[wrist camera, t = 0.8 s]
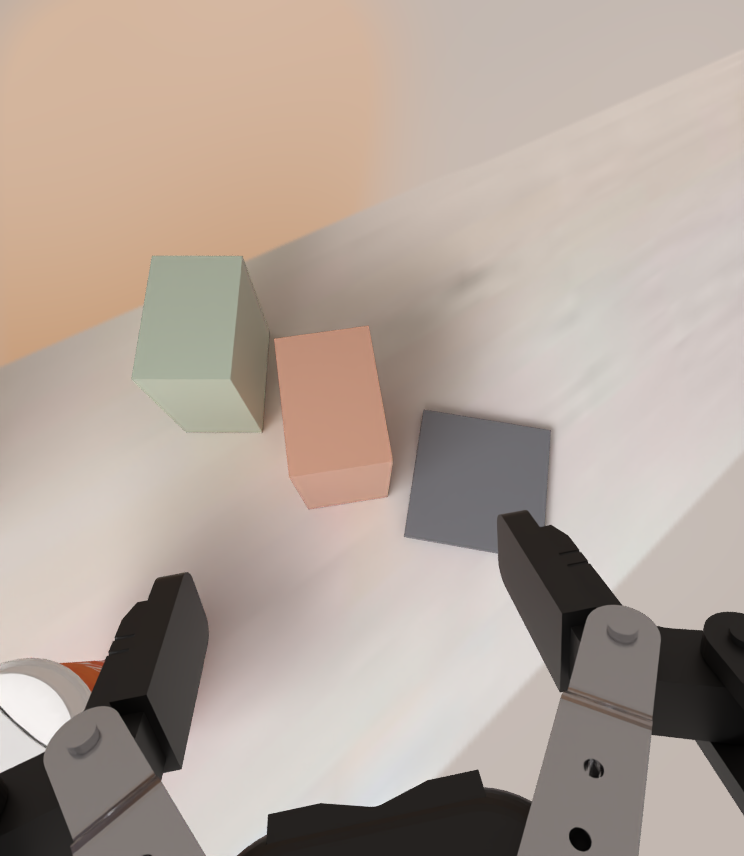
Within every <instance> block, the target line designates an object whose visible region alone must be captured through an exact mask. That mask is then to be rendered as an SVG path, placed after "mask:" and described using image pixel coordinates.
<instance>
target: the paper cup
mask: <svg viewBox="0 0 744 856" xmlns="http://www.w3.org/2000/svg"><path fill="white" fill-rule="evenodd" d="M104 662H105V660H104V661H87V662H72V663H57V662H54V661H50V660H47V659H39V658H25V659H17V660H13V661H8V662H5V663H2V664H0V773H1V772H3V771H6V770H8V769H10V768H12V767H14V766H16V765H18V764H20V763H22V762H24V761H27V760H29V759H31V758H33V757H35V756H37V755H39V754H41V753H43V752H45V750H46V747H47V745H48V743H49V741H50V740H51V738H52V737H53V736H54V734H55V733H56V732H57V731H58V730H59V728H60V727H61V726H63V725H64V724H65V723H66V722H67V721H68V720H70V719H71V718H72V717H74V716H76V715H77V714H79V713H81V712H83V711H84V709H85V707H86V704H87V702H88V700H89V697H90V695H91V693H92V690H93V688H94V685H95V683H96V681H97V678H98V676H99V674H100V671H101V669H102V666H103V664H104Z"/></svg>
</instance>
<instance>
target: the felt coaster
mask: <svg viewBox="0 0 744 856" xmlns="http://www.w3.org/2000/svg"><path fill="white" fill-rule="evenodd" d="M550 433H551V430H545V429H539V428H533V427H527V426H521V425H515V424H509V423H503V422H496V421H490V420H484V419H478V418H472V417H466V416H460V415H454V414H448V413H442V412H435V411H429V410H424V411H423V416H422V422H421V429H420V435H419V442H418V449H417V455H416V462H415V468H414V475H413V481H412V488H411V494H410V501H409V507H408V514H407V521H406V527H405V534H404V537H408V538H414V539H419V540H425V541H431V542H436V543H442V544H448V545H453V546H459V547H464V548H470V549H476V550H481V551H487V552H493V553H498V537H497V517H498V515H500V514H506V513H511V512H516V511H522V510H527V511H529V513H530V514H531V515H532V517H533V518H534V519H535V521H536V522H537V524H538V525H539V527H543V526H545V511H546V495H547V480H548V464H549V449H550Z"/></svg>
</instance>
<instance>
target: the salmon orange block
mask: <svg viewBox="0 0 744 856" xmlns="http://www.w3.org/2000/svg"><path fill="white" fill-rule="evenodd" d="M274 343H275V352H276V361H277V370H278V380H279V389H280V398H281V407H282V416H283V425H284V434H285V443H286V453H287V462H288V471H289V478H290V479H291V481H292V483H293V484H294V486H295V488H296V489H297V491H298V493H299V494H300V496H301V498H302V499H303V501H304V503H305V504H306V506H307V508H308V509H314V508H320V507H327V506H333V505H340V504H346V503H352V502H359V501H365V500H371V499H378V498H384V497H387V496H388V490H389V483H390V477H391V471H392V464H393V458H392V453H391V447H390V442H389V436H388V430H387V425H386V419H385V414H384V408H383V403H382V397H381V391H380V386H379V380H378V375H377V369H376V364H375V358H374V352H373V347H372V341H371V336H370V330H369V326H362V327H355V328H348V329H340V330H333V331H326V332H319V333H311V334H304V335H297V336H290V337H282V338H275V339H274Z"/></svg>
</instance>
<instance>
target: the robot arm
mask: <svg viewBox="0 0 744 856" xmlns="http://www.w3.org/2000/svg"><path fill="white" fill-rule="evenodd" d="M497 537H498V561H499V569H500V573H501V577H502V580H503V582H504V585H505V587H506V589H507V591H508V593H509V595H510V597H511V599H512V600H513V602H514V604H515V606H516V608H517V610H518V612H519V614H520V616H521V618H522V620H523V622H524V624H525V626H526V628H527V630H528V631H529V633H530V635H531V637H532V639H533V641H534V643H535V645H536V647H537V649H538V651H539V653H540V655H541V657H542V659H543V661H544V663H545V664H546V666H547V668H548V670H549V672H550V674H551V676H552V678H553V680H554V682H555V684H556V686H557V688H558V690H559V691H560V692H563V693H562V695H561V698H560V702H559V706H558V709H557V713H556V716H555V720H554V724H553V727H552V731H551V734H550V738H549V742H548V746H547V749H546V753H545V757H544V760H543V764H542V767H541V771H540V775H539V778H538V782H537V785H536V789H535V793H534V797H533V800H532V801H530V800H528V799H526V798H523V797H521V796H519V795H516V794H514V793H511V792H508V791H504V790H499V789H494V788H486V787H485V788H484V787H483V784H482V781H481V777H480V774H479V771H478V770H474V771H469V772H465V773H460V774H455V775H450V776H446V777H441V778H436V779H432V780H427V781H425V782H424V783H422V784H420V785H418V786H416V787H414V788H412V789H410V790H408V791H406V792H404V793H403V794H401V795H399V796H397V797H395V798H393V799H391V800H389V801H387V802H385V803H384V804H382V805H379V806H376V807H364V806H350V805H337V804H323V803H320V804H315V805H310V806H306V807H301V808H296V809H292V810H287V811H282V812H278V813H273V814H268V825H267V835H265V836H264V837H262V838H260V839H258V840H257V841H255V842H254V843H252V844H251V845H250V846H248V847H247V848H246V849H244V850H243V851H242V852H241V853H240V854H238V855H237V856H638V854H639V845H640V835H641V826H642V817H643V807H644V797H645V788H646V780H647V770H648V761H649V752H650V742H651V735H658V736H666V737H675V738H683V739H692V740H695V741H696V742H697V744H698V745H699V747H700V748H701V750H702V752H703V753H704V755H705V756H706V758H707V759H708V761H709V762H710V764H711V765H712V767H713V769H714V770H715V771H716V773H717V775H718V776H719V778H720V779H721V781H722V782H723V784H724V785H725V787H726V789H727V790H728V792H729V793H730V795H731V796H732V798H733V799H734V801H735V802H736V804H737V806H738V807H739V809H740V810H741V812H742V813H743V815H744V614H743V613H737V612H721V613H717V614H714V615H712V616H710V617H709V618H708V619H707V620H706V622H705V625H704V628H703V631H701V630H686V629H672V628H663V627H659V626H656V625H655V624H654V622H653V621H652V620H651V619H650V618H649V617H647V616H646V615H645V614H643V613H641V612H639V611H637V610H635V609H633V608H629V607H626V606H622V604H621V603H620V602H619V601H618V599H617V598H616V597H615V595H614V594H613V593H612V591H611V590H610V589H609V588H608V586H607V585H606V584H605V582H604V581H603V580H602V579H601V577H600V576H599V575H598V573H597V572H596V571H595V569H594V568H593V567H592V566H591V564H588V560H587V559H586V558H585V557H584V555H583V554H582V553H581V552H579V549H578V548H577V546H576V545H575V544H574V542H573V541H572V540H571V539H570V537H569V536H568V535H566V534H565V533H563V532H562V531H560V530H558V529H557V528H555V527H554V526H552V525H549V526H543V527H539V525H538V524H537V522H536V521H535V519H534V518H533V517H532V515H531V514H530V513H529V511H527V510H522V511H516V512H511V513H506V514H500V515H498V517H497ZM208 636H209V631H208V622H207V618H206V614H205V612H204V609H203V606H202V603H201V601H200V598H199V595H198V592H197V590H196V587H195V584H194V581H193V579H192V576H191V575H190V573H188V572H185V573H180V574H175V575H169V576H164V577H159V578H157V579H156V580H155V582H154V584H153V587H152V590H151V592H150V595H149V598H148V600H147V601H142V602H137V603H136V604H135V606H134V607H133V608H132V609H131V610H130V611H129V612H128V614H127V615H126V616H125V617H124V618H123V619H122V621H121V624H120V626H119V628H118V631H117V633H116V636H115V641H113V643H112V645H111V647H110V650H109V652H108V653H109V656H107V657H106V659H105V662H104V664H103V666H102V669H101V671H100V674H99V676H98V678H97V681H96V683H95V685H94V688H93V690H92V693H91V695H90V697H89V700H88V702H87V704H86V707H85V709H84V711H83V712H81V713H79V714H77V715H76V716H74V717H72V718H71V719H70V720H68V721H67V722H66V723H65V724H64V725H63V726H61V727H60V728H59V730H58V731H57V732H56V733H55V734H54V736H53V737H52V738H51V740H50V741H49V743H48V745H47V747H46V750H45V752H43V753H41V754H39V755H37V756H35V757H33V758H31V759H29V760H27V761H24V762H22V763H20V764H18V765H16V766H14V767H12V768H10V769H8V770H6V771H3V772H1V773H0V856H206V855H205V854H204V852H203V850H202V849H201V847H200V845H199V844H198V842H197V840H196V839H195V837H194V835H193V834H192V832H191V830H190V829H189V827H188V825H187V824H186V822H185V820H184V819H183V817H182V815H181V814H180V812H179V810H178V809H177V807H176V805H175V804H174V802H173V800H172V799H171V797H170V795H169V794H168V792H167V790H166V789H165V787H164V785H163V784H162V782H161V779H162V775H163V773H166V772H170V771H175V770H180V769H182V764H183V760H184V755H185V750H186V745H187V740H188V736H189V731H190V726H191V721H192V716H193V712H194V707H195V702H196V697H197V693H198V688H199V683H200V678H201V673H202V669H203V664H204V659H205V654H206V649H207V645H208Z"/></svg>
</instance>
